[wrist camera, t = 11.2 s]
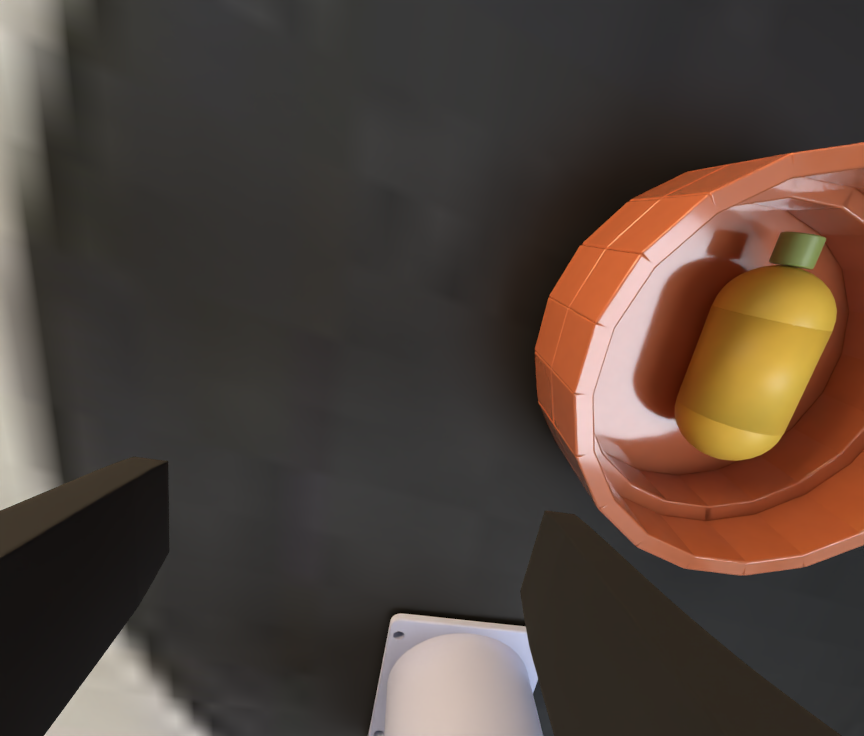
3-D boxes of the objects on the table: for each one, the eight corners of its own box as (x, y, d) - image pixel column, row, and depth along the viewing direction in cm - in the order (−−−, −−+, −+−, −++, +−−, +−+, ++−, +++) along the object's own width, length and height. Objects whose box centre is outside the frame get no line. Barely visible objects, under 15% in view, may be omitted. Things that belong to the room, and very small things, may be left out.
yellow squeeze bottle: (704, 432, 19) (786, 478, 16) (642, 431, 17) (718, 481, 14) (783, 238, 16) (900, 248, 13) (718, 222, 15) (830, 229, 12)
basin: (776, 506, 20) (887, 594, 15) (498, 468, 19) (526, 550, 14) (927, 205, 16) (1141, 200, 11) (585, 132, 15) (664, 91, 10)
